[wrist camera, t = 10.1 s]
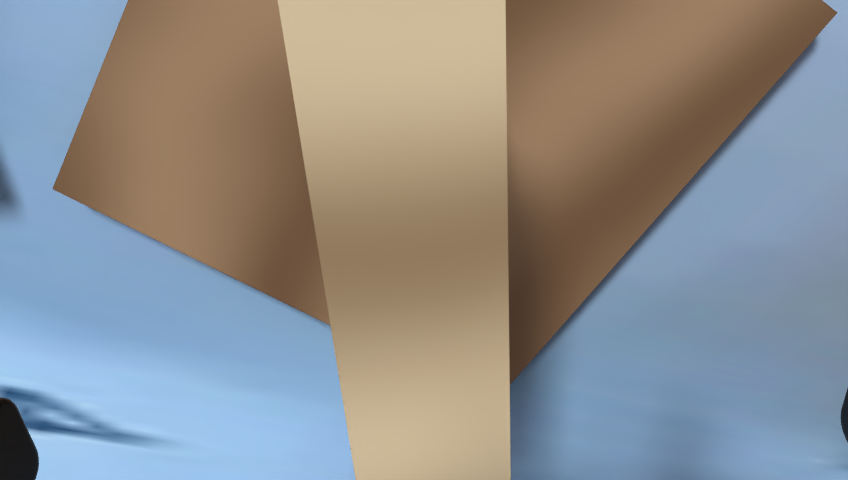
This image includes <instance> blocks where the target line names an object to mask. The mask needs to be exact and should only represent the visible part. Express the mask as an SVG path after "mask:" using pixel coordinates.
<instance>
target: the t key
mask: <svg viewBox="0 0 848 480" xmlns="http://www.w3.org/2000/svg"><path fill="white" fill-rule="evenodd" d="M278 6H279V12H280V18H281V24H282V30H283V36H284V43H285V49H286V55H287V61H288V67H289V73H290V79H291V85H292V92H293V98H294V104H295V110H296V116H297V122H298V128H299V135H300V141H301V147H302V153H303V159H304V165H305V171H306V177H307V184H308V190H309V196H310V202H311V208H312V214H313V220H314V226H315V233H316V239H317V245H318V251H319V257H320V263H321V269H322V276H323V282H324V288H325V294H326V300H327V306H328V312H329V318H330V325H331V331H332V337H333V343H334V349H335V355H336V361H337V367H338V374H339V380H340V386H341V392H342V398H343V404H344V410H345V416H346V423H347V429H348V435H349V441H350V447H351V453H352V459H353V466H354V472H355V478H356V480H511V463H510V370H509V278H508V186H507V93H506V1H505V0H278Z"/></svg>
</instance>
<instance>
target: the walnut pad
mask: <svg viewBox="0 0 848 480" xmlns="http://www.w3.org/2000/svg"><path fill="white" fill-rule="evenodd" d="M505 1H506V93H507V186H508V278H509V370H510V384H511V383H512V382H513V381H514V380H515V378H516V377H517V376H518V375H519V374H520V373H521V372H522V370H523V369H524V368H525V367H526V366H527V365H528V364H529V362H530V361H531V360H532V359H533V358H534V357H535V356H536V355H537V353H538V352H539V351H540V350H541V349H542V348H543V347H544V345H545V344H546V343H547V342H548V341H549V340H550V339H551V337H552V336H553V335H554V334H555V333H556V332H557V331H558V330H559V328H560V327H561V326H562V325H563V324H564V323H565V322H566V320H567V319H568V318H569V317H570V316H571V315H572V314H573V312H574V311H575V310H576V309H577V308H578V307H579V306H580V305H581V303H582V302H583V301H584V300H585V299H586V298H587V297H588V295H589V294H590V293H591V292H592V291H593V290H594V289H595V287H596V286H597V285H598V284H599V283H600V282H601V281H602V280H603V278H604V277H605V276H606V275H607V274H608V273H609V272H610V270H611V269H612V268H613V267H614V266H615V265H616V264H617V263H618V261H619V260H620V259H621V258H622V257H623V256H624V255H625V253H626V252H627V251H628V250H629V249H630V248H631V247H632V245H633V244H634V243H635V242H636V241H637V240H638V239H639V238H640V236H641V235H642V234H643V233H644V232H645V231H646V230H647V228H648V227H649V226H650V225H651V224H652V223H653V222H654V220H655V219H656V218H657V217H658V216H659V215H660V214H661V213H662V211H663V210H664V209H665V208H666V207H667V206H668V205H669V203H670V202H671V201H672V200H673V199H674V198H675V197H676V195H677V194H678V193H679V192H680V191H681V190H682V189H683V188H684V186H685V185H686V184H687V183H688V182H689V181H690V180H691V178H692V177H693V176H694V175H695V174H696V173H697V172H698V170H699V169H700V168H701V167H702V166H703V165H704V164H705V163H706V161H707V160H708V159H709V158H710V157H711V156H712V155H713V153H714V152H715V151H716V150H717V149H718V148H719V147H720V145H721V144H722V143H723V142H724V141H725V140H726V139H727V138H728V136H729V135H730V134H731V133H732V132H733V131H734V130H735V128H736V127H737V126H738V125H739V124H740V123H741V122H742V120H743V119H744V118H745V117H746V116H747V115H748V114H749V113H750V111H751V110H752V109H753V108H754V107H755V106H756V105H757V103H758V102H759V101H760V100H761V99H762V98H763V97H764V96H765V94H766V93H767V92H768V91H769V90H770V89H771V88H772V86H773V85H774V84H775V83H776V82H777V81H778V80H779V78H780V77H781V76H782V75H783V74H784V73H785V72H786V71H787V69H788V68H789V67H790V66H791V65H792V64H793V63H794V61H795V60H796V59H797V58H798V57H799V56H800V55H801V53H802V52H803V51H804V50H805V49H806V48H807V47H808V46H809V44H810V43H811V42H812V41H813V40H814V39H815V38H816V36H817V35H818V34H819V33H820V32H821V31H822V30H823V28H824V27H825V26H826V25H827V24H828V23H829V22H830V21H831V19H832V18H833V17H834V16H835V15H836V14H837V12H836V11H835V10H833V9H832V8H831V7H830V6H828V5H827V4H826V3H825V2H823V1H822V0H505ZM53 189H54V190H56V191H58V192H60V193H62V194H64V195H66V196H68V197H70V198H72V199H74V200H76V201H78V202H80V203H82V204H84V205H86V206H88V207H90V208H92V209H94V210H96V211H98V212H100V213H102V214H104V215H107V216H109V217H111V218H113V219H115V220H117V221H119V222H121V223H123V224H125V225H127V226H129V227H131V228H133V229H135V230H137V231H139V232H141V233H143V234H145V235H147V236H149V237H151V238H153V239H155V240H157V241H159V242H162V243H164V244H166V245H168V246H170V247H172V248H174V249H176V250H178V251H180V252H182V253H184V254H186V255H188V256H190V257H192V258H194V259H196V260H198V261H200V262H202V263H204V264H206V265H208V266H210V267H212V268H214V269H217V270H219V271H221V272H223V273H225V274H227V275H229V276H231V277H233V278H235V279H237V280H239V281H241V282H243V283H245V284H247V285H249V286H251V287H253V288H255V289H257V290H259V291H261V292H263V293H265V294H267V295H269V296H272V297H274V298H276V299H278V300H280V301H282V302H284V303H286V304H288V305H290V306H292V307H294V308H296V309H298V310H300V311H302V312H304V313H306V314H308V315H310V316H312V317H314V318H316V319H318V320H320V321H322V322H324V323H326V324H329V325H330V318H329V312H328V306H327V300H326V294H325V288H324V282H323V276H322V269H321V263H320V257H319V251H318V245H317V239H316V233H315V226H314V220H313V214H312V208H311V202H310V196H309V190H308V184H307V177H306V171H305V165H304V159H303V153H302V147H301V141H300V135H299V128H298V122H297V116H296V110H295V104H294V98H293V92H292V85H291V79H290V73H289V67H288V61H287V55H286V49H285V43H284V36H283V30H282V24H281V18H280V12H279V6H278V0H128V2H127V5H126V7H125V10H124V12H123V15H122V17H121V20H120V22H119V25H118V27H117V30H116V32H115V35H114V37H113V40H112V42H111V45H110V47H109V50H108V52H107V55H106V57H105V60H104V62H103V65H102V67H101V70H100V72H99V75H98V77H97V80H96V82H95V85H94V87H93V89H92V92H91V94H90V97H89V99H88V102H87V104H86V107H85V109H84V112H83V114H82V117H81V119H80V122H79V124H78V127H77V129H76V132H75V134H74V137H73V139H72V142H71V144H70V147H69V149H68V152H67V154H66V157H65V159H64V162H63V164H62V167H61V169H60V172H59V174H58V177H57V179H56V182H55V184H54V187H53Z"/></svg>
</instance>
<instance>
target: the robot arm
mask: <svg viewBox="0 0 848 480" xmlns="http://www.w3.org/2000/svg"><path fill="white" fill-rule="evenodd" d="M841 425H842V429H843V433H844V435H845V438H846V440H847V442H848V389H847V392H846V396H845V399H844V402H843V406H842V410H841ZM38 466H39V458H38V452H37V449H36V447H35V445H34V442H33V440H32V438H31V436H30V434H29V432H28V430H27V427H26V425H25V423H24V421H23V419H22V417H21V415H20V412H19V410H18V408H17V406H16V405H15V404H14V403H13V402H12V401H11V400H9V399H7V398H2V397H0V480H35V479H36V476H37V472H38Z"/></svg>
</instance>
